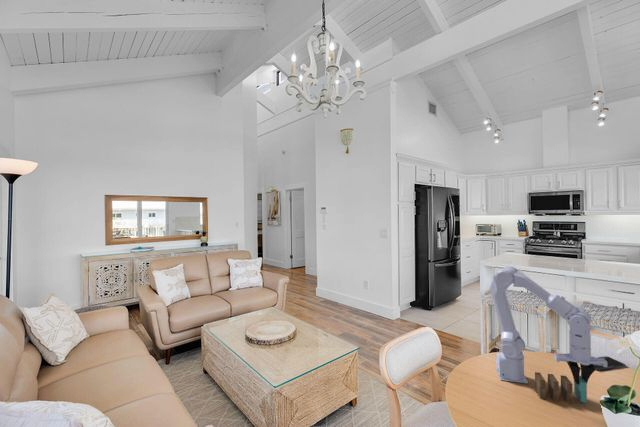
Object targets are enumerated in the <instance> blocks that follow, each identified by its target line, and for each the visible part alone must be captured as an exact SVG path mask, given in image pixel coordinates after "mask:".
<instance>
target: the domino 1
mask: <svg viewBox="0 0 640 427" xmlns="http://www.w3.org/2000/svg"><path fill="white" fill-rule="evenodd" d="M534 390H535V392H536V394H537V396H538V398H539V399H540V400H546V379H545V377H543V375H542V373H541V372H538V371H537V372H536V371H535V372H534Z"/></svg>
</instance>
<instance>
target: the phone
mask: <svg viewBox="0 0 640 427" xmlns="http://www.w3.org/2000/svg"><path fill="white" fill-rule="evenodd" d="M597 358H601V359H605V360H606V361H607V367H603V366H601V365H593V366H594V367H595V371H596V372H604V371H610V370H611V371H612V370H619V369H624V368H626V367H627V364H626V363H624V362H622V361H619V360H617V359H615V358H612V357H610V356H607V355H604V356H599V357H597Z"/></svg>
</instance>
